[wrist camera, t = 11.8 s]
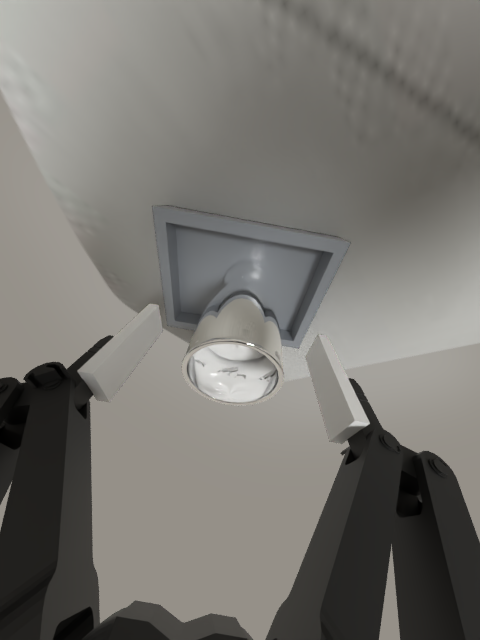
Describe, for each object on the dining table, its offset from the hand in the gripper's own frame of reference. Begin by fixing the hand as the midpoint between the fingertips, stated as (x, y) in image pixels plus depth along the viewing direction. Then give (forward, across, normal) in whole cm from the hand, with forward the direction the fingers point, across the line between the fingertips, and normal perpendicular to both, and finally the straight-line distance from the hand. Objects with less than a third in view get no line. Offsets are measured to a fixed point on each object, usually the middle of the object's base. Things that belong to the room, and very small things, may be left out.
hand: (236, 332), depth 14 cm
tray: (+12, 0, 0) cm, 12 cm away
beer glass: (+11, 0, 0) cm, 11 cm away
